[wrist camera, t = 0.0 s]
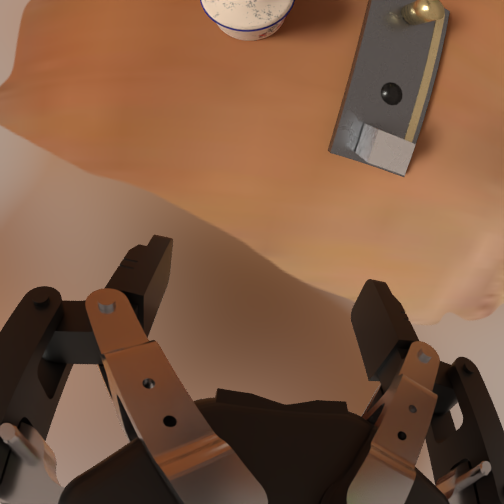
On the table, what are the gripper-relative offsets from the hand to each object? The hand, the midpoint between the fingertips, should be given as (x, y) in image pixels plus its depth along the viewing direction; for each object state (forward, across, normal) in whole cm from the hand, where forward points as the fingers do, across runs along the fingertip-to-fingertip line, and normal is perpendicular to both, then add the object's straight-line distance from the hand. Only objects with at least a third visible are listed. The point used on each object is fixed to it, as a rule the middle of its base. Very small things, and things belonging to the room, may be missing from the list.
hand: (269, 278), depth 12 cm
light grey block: (+28, -14, -4) cm, 31 cm away
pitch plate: (+29, -14, -14) cm, 35 cm away
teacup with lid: (+30, +5, -18) cm, 35 cm away
